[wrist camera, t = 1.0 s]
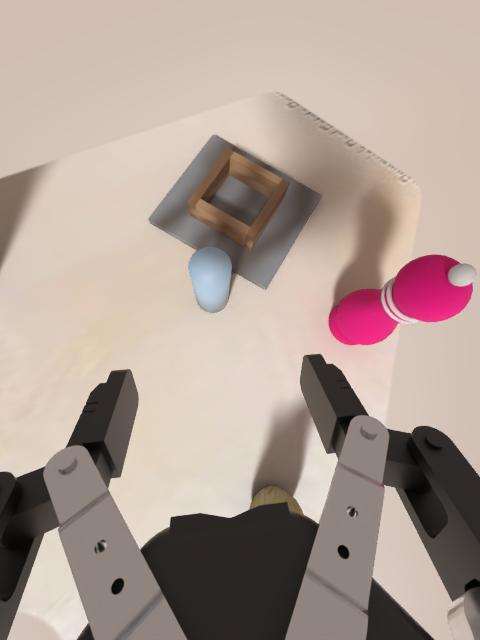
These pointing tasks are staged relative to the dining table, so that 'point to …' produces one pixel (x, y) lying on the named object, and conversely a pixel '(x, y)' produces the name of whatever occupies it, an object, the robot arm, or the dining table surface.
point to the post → (211, 278)
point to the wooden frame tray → (237, 210)
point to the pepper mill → (404, 300)
